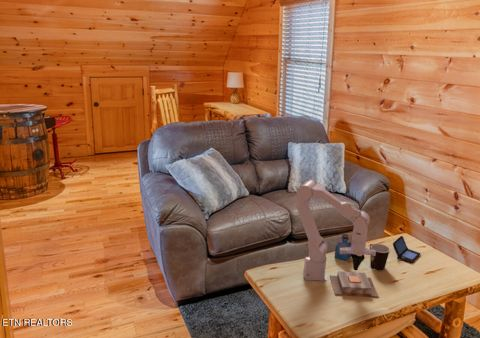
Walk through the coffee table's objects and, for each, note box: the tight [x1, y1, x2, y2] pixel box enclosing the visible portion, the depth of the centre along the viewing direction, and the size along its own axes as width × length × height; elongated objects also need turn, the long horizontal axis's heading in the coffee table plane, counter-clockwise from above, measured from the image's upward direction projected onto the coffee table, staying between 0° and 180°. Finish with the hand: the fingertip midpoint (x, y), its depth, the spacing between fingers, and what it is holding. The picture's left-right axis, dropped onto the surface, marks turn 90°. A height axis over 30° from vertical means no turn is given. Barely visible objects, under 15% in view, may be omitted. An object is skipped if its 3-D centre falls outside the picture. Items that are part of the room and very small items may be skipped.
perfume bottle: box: [334, 233, 352, 263], centre depth 199 cm, size 6×6×12 cm
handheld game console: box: [392, 235, 421, 264], centre depth 203 cm, size 12×11×7 cm
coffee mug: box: [369, 243, 391, 272], centre depth 193 cm, size 12×9×10 cm
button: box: [348, 276, 360, 283], centre depth 176 cm, size 4×4×3 cm
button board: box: [329, 271, 380, 298], centre depth 176 cm, size 18×14×4 cm
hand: (355, 269), depth 174 cm, fingers closed
